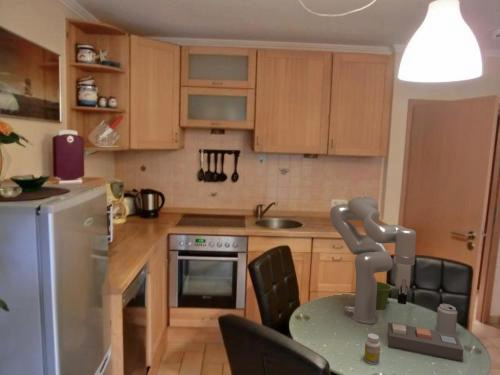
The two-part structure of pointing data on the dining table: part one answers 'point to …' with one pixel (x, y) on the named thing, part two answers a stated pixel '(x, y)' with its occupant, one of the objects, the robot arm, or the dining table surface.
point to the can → (446, 319)
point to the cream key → (399, 329)
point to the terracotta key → (423, 333)
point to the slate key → (448, 339)
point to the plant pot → (382, 295)
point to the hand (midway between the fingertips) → (401, 303)
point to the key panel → (426, 344)
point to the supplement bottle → (372, 349)
